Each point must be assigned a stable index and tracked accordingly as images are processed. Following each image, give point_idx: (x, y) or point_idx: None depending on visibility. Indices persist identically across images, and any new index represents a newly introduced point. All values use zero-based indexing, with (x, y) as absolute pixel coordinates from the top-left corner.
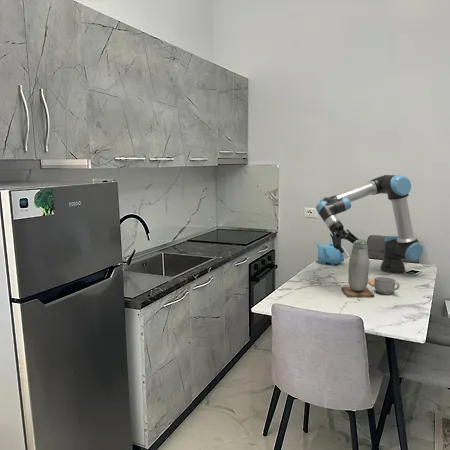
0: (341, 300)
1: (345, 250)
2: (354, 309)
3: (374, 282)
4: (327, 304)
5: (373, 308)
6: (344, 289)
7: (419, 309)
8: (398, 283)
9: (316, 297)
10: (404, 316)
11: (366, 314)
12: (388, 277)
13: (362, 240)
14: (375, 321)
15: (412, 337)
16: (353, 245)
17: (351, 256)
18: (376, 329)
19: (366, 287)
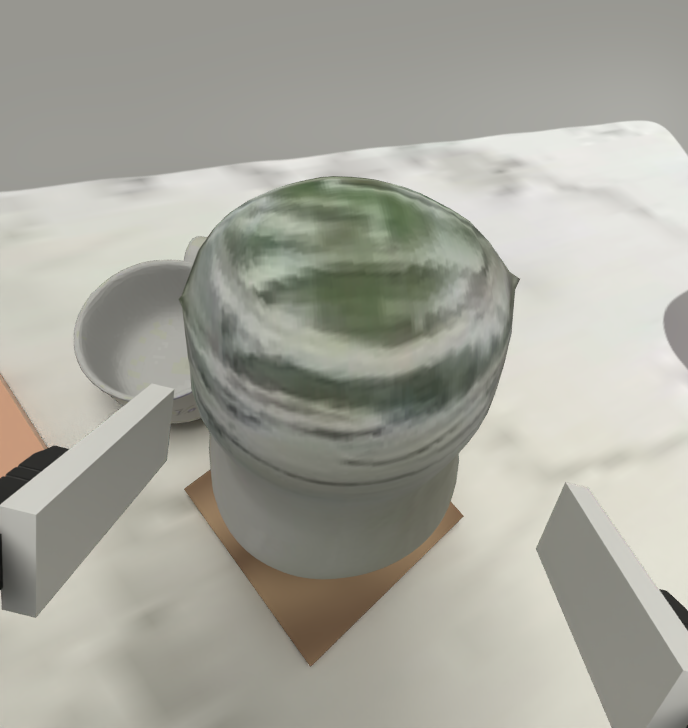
0: (543, 520)
1: (620, 561)
2: (613, 388)
3: (193, 406)
4: (681, 554)
5: (518, 321)
6: (362, 600)
7: (366, 171)
8: (203, 237)
9: None
10: (505, 195)
11: (622, 318)
12: (77, 325)
13: (391, 200)
14: (660, 262)
15: (673, 137)
16: (466, 443)
17: (445, 501)
18: None
19: (196, 483)
